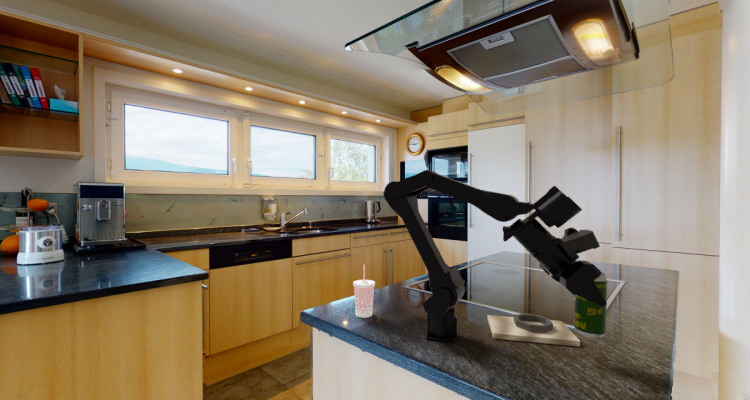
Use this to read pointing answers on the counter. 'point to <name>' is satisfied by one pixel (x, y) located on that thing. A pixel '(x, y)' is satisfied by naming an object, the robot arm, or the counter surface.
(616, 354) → the counter surface
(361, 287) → the beverage cup
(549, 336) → the board with grey ring
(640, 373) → the counter surface
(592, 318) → the beer can
